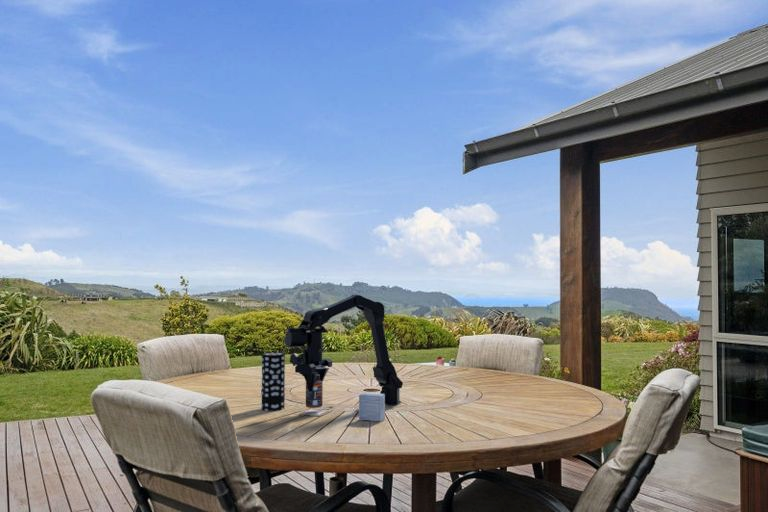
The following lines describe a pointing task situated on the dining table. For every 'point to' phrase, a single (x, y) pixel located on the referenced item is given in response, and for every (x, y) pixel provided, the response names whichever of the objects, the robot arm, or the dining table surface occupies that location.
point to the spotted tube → (273, 381)
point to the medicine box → (372, 406)
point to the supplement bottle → (315, 394)
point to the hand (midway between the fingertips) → (314, 390)
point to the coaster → (313, 412)
